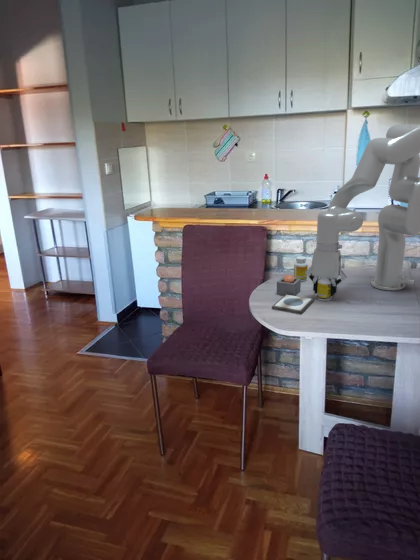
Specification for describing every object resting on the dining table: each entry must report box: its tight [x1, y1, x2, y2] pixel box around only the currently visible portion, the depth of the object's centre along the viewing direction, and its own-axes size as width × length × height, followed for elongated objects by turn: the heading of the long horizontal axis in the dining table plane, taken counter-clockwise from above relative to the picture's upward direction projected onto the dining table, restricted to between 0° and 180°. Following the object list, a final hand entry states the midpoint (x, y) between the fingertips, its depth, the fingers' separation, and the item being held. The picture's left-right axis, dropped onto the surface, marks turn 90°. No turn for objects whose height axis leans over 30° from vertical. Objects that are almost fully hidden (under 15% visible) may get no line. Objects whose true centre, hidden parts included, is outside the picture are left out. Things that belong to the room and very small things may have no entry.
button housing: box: [276, 276, 302, 296], centre depth 174 cm, size 7×7×5 cm
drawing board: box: [271, 294, 315, 315], centre depth 163 cm, size 11×13×1 cm
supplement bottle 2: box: [316, 277, 333, 302], centre depth 166 cm, size 5×5×10 cm
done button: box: [283, 274, 294, 283], centre depth 173 cm, size 4×4×3 cm
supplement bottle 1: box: [293, 255, 308, 283], centre depth 187 cm, size 5×5×10 cm
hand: (324, 293), depth 167 cm, fingers closed on supplement bottle 2, 5 cm apart
